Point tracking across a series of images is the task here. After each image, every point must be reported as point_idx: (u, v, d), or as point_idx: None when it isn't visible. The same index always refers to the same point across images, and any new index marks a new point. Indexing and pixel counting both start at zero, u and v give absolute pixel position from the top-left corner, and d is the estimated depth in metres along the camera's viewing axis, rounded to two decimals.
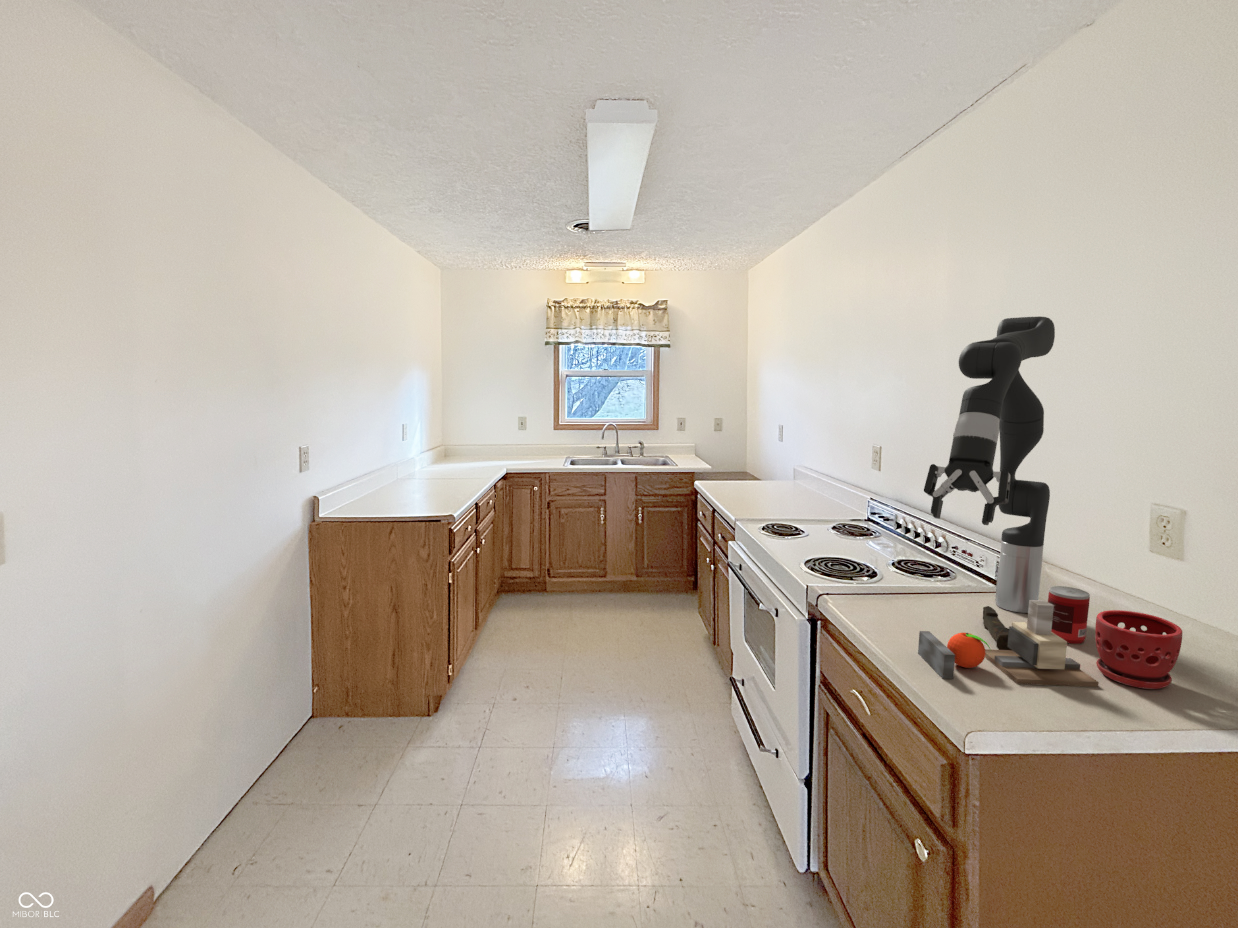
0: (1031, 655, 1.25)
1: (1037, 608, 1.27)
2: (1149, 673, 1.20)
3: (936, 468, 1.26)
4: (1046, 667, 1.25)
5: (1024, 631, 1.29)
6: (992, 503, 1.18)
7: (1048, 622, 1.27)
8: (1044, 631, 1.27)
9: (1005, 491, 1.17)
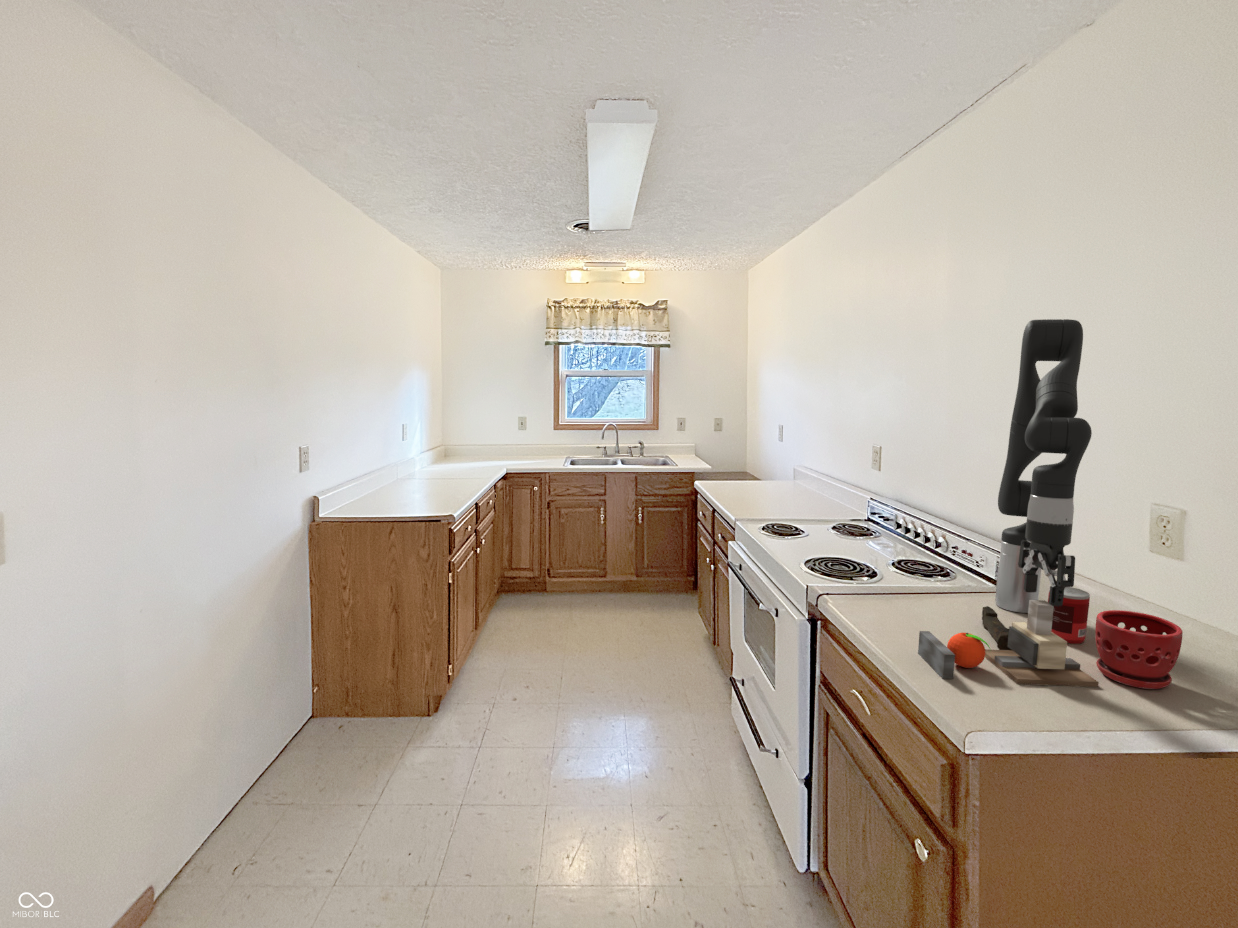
0: (1031, 655, 1.25)
1: (1037, 608, 1.27)
2: (1149, 673, 1.20)
3: (1025, 544, 1.32)
4: (1046, 667, 1.25)
5: (1024, 631, 1.29)
6: (1055, 586, 1.22)
7: (1048, 622, 1.27)
8: (1044, 631, 1.27)
9: (1060, 577, 1.20)
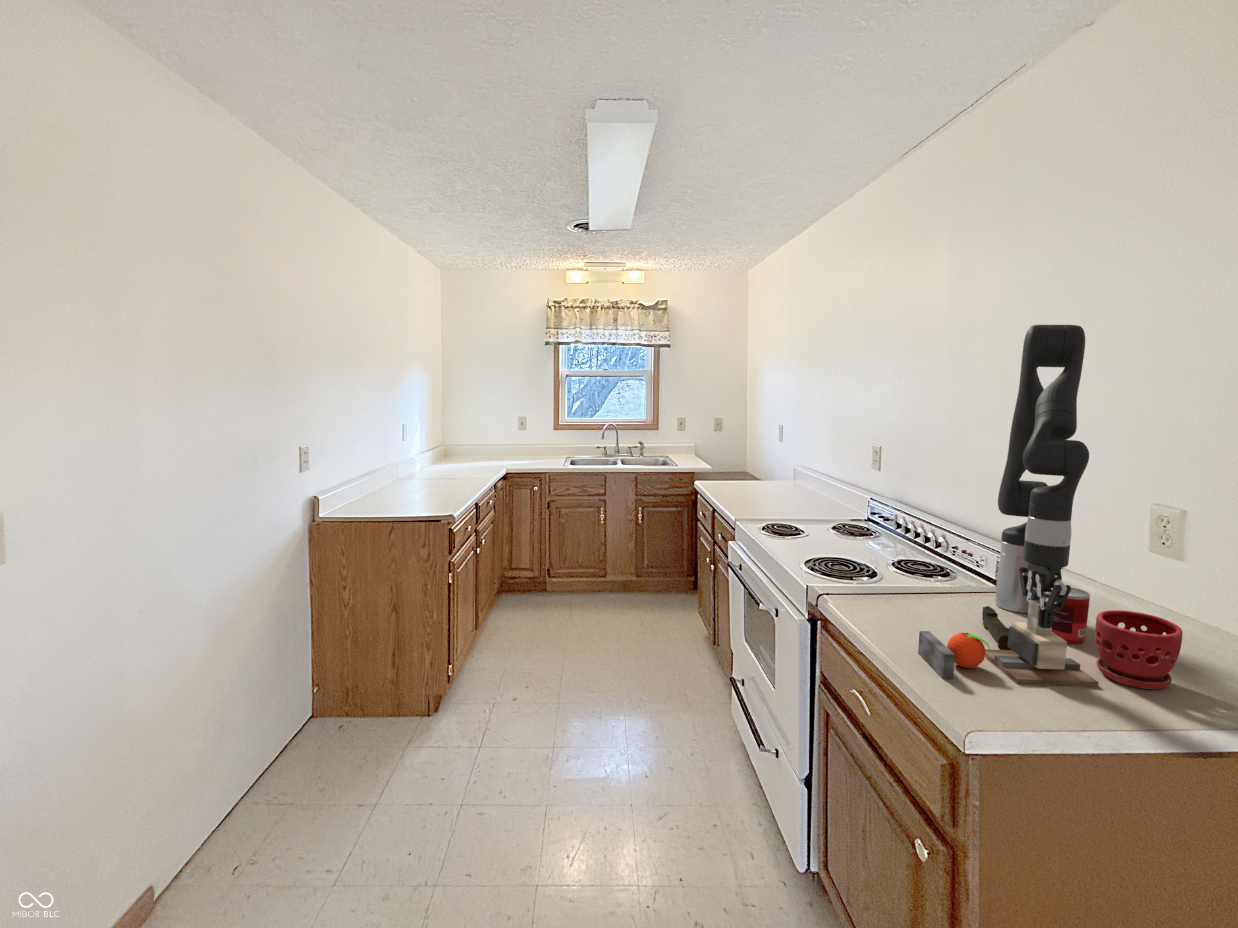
0: (1031, 655, 1.25)
1: (1037, 608, 1.27)
2: (1149, 673, 1.20)
3: (1024, 570, 1.33)
4: (1046, 667, 1.25)
5: (1024, 631, 1.29)
6: (1043, 609, 1.26)
7: None
8: (1044, 631, 1.27)
9: (1051, 603, 1.23)
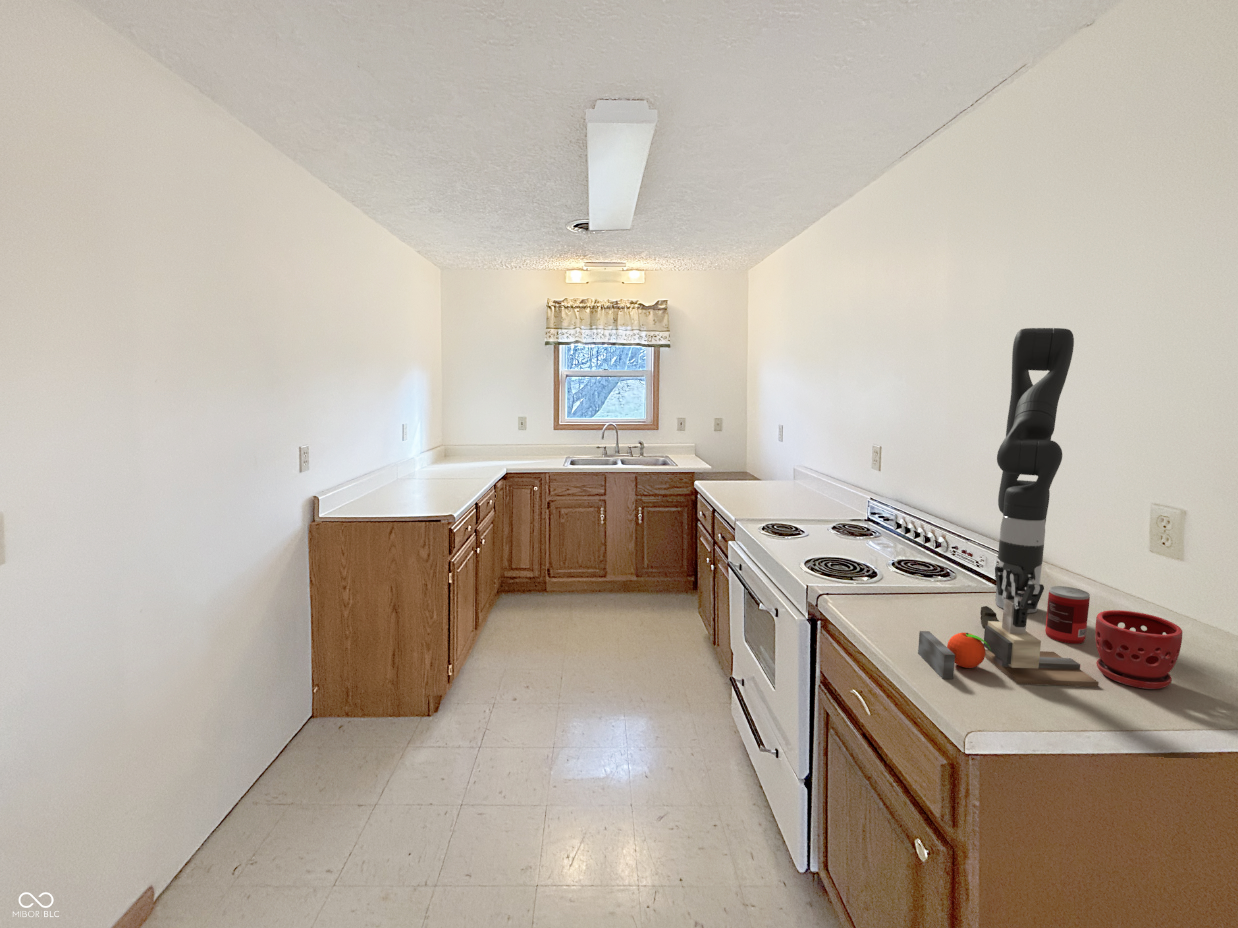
0: (1005, 654, 1.26)
1: (1011, 607, 1.27)
2: (1149, 673, 1.20)
3: (999, 569, 1.33)
4: (1020, 666, 1.25)
5: (999, 630, 1.30)
6: (1017, 608, 1.26)
7: None
8: (1019, 630, 1.27)
9: (1025, 602, 1.23)
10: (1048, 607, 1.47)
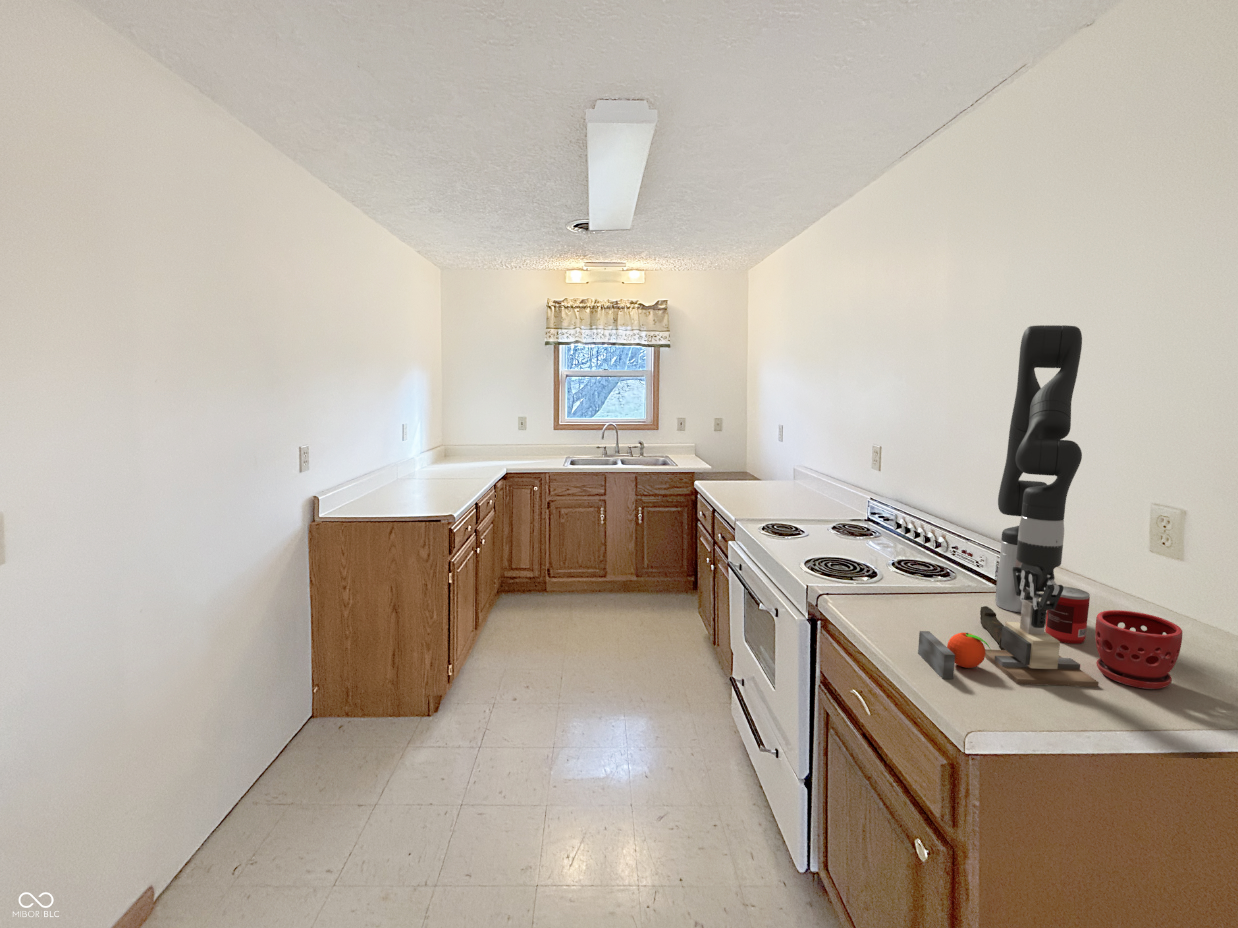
0: (1024, 655, 1.25)
1: (1030, 608, 1.27)
2: (1149, 673, 1.20)
3: (1017, 570, 1.33)
4: (1039, 667, 1.25)
5: (1017, 631, 1.29)
6: (1036, 609, 1.26)
7: None
8: (1037, 631, 1.27)
9: (1044, 602, 1.23)
10: None
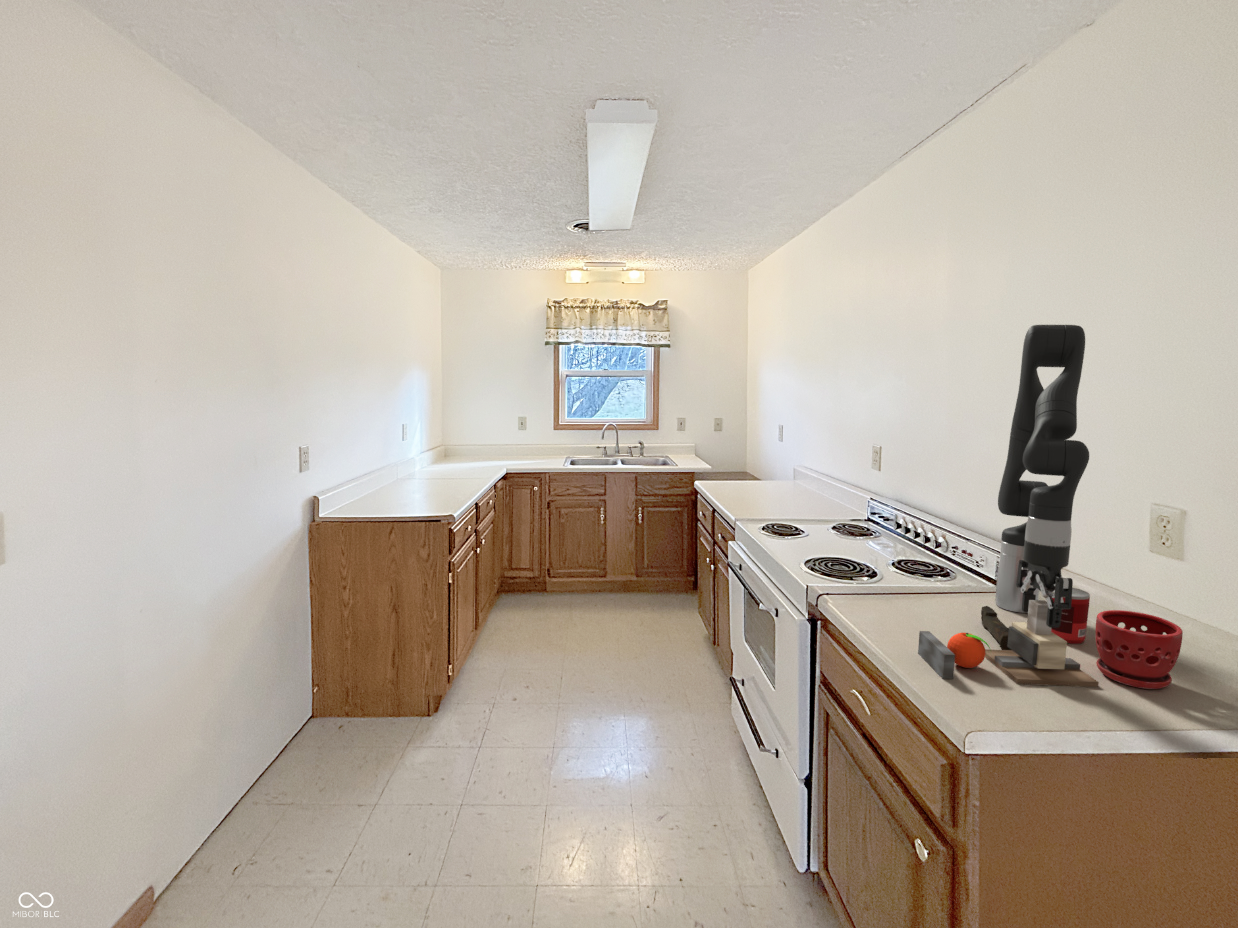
0: (1031, 655, 1.25)
1: (1037, 608, 1.27)
2: (1149, 673, 1.20)
3: (1023, 564, 1.33)
4: (1046, 667, 1.25)
5: (1024, 631, 1.29)
6: (1052, 608, 1.23)
7: None
8: (1044, 631, 1.27)
9: (1058, 599, 1.21)
10: None
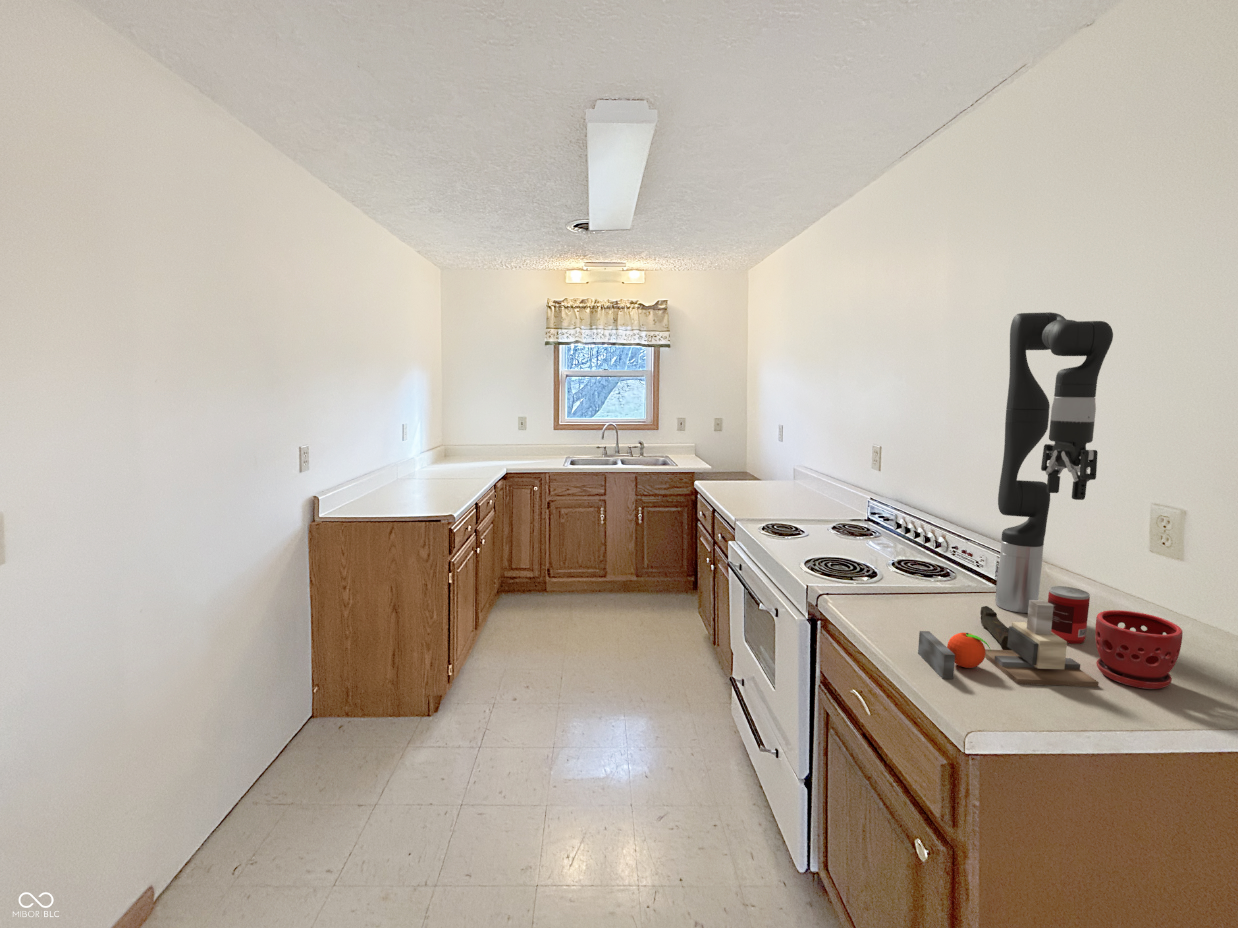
0: (1031, 655, 1.25)
1: (1037, 608, 1.27)
2: (1149, 673, 1.20)
3: (1048, 447, 1.39)
4: (1046, 667, 1.25)
5: (1024, 631, 1.29)
6: (1078, 481, 1.29)
7: (1048, 622, 1.27)
8: (1044, 631, 1.27)
9: (1083, 470, 1.27)
10: None
